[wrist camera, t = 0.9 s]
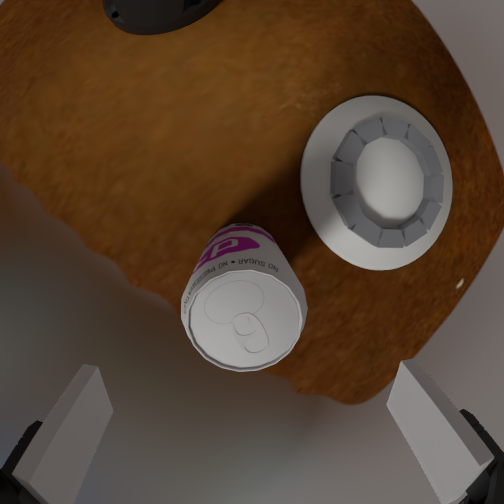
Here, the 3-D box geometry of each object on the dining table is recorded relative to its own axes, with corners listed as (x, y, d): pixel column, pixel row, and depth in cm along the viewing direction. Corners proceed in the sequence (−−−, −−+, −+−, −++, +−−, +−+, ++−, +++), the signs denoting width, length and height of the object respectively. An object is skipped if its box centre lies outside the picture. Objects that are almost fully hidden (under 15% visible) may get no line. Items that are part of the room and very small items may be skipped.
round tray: (299, 87, 27) (305, 79, 25) (445, 115, 28) (458, 112, 26) (296, 268, 32) (301, 276, 29) (439, 265, 33) (451, 271, 30)
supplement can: (191, 241, 31) (151, 293, 16) (262, 209, 30) (283, 235, 16) (223, 305, 33) (214, 392, 18) (291, 277, 32) (328, 349, 18)
